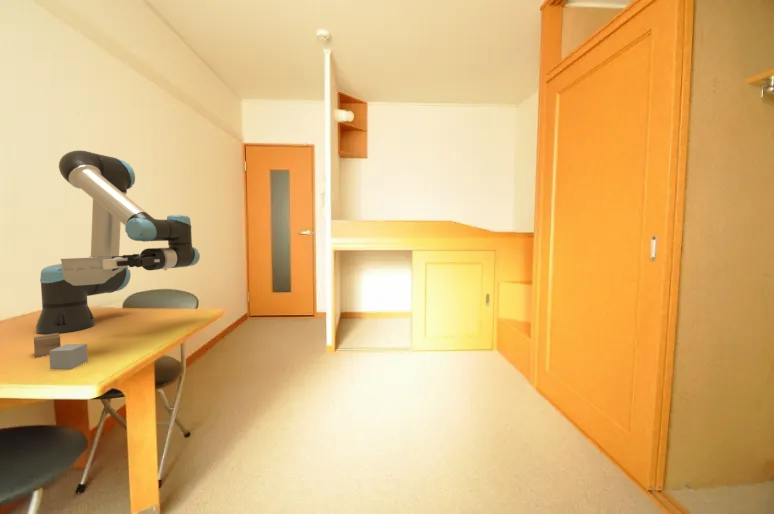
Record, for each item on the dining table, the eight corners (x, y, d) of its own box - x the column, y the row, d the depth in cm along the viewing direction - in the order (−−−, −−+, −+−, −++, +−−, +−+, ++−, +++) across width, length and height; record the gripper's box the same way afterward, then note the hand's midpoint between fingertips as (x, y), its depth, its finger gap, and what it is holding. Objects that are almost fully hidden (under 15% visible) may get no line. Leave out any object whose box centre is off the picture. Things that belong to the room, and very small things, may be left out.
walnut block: (34, 353, 93) (33, 336, 93) (59, 349, 97) (58, 332, 96) (35, 358, 90) (34, 340, 89) (60, 353, 94) (60, 336, 93)
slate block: (50, 370, 82) (49, 350, 82) (67, 362, 87) (66, 344, 87) (72, 369, 83) (71, 350, 82) (87, 361, 88) (86, 343, 87)
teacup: (55, 288, 85) (54, 258, 85) (69, 283, 94) (67, 255, 94) (123, 285, 92) (122, 257, 92) (129, 280, 101) (128, 255, 101)
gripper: (186, 270, 111) (120, 278, 90) (131, 268, 116) (57, 275, 95) (185, 248, 110) (119, 251, 89) (130, 247, 116) (55, 249, 94)
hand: (87, 263), depth 92 cm, fingers closed on teacup, 11 cm apart
